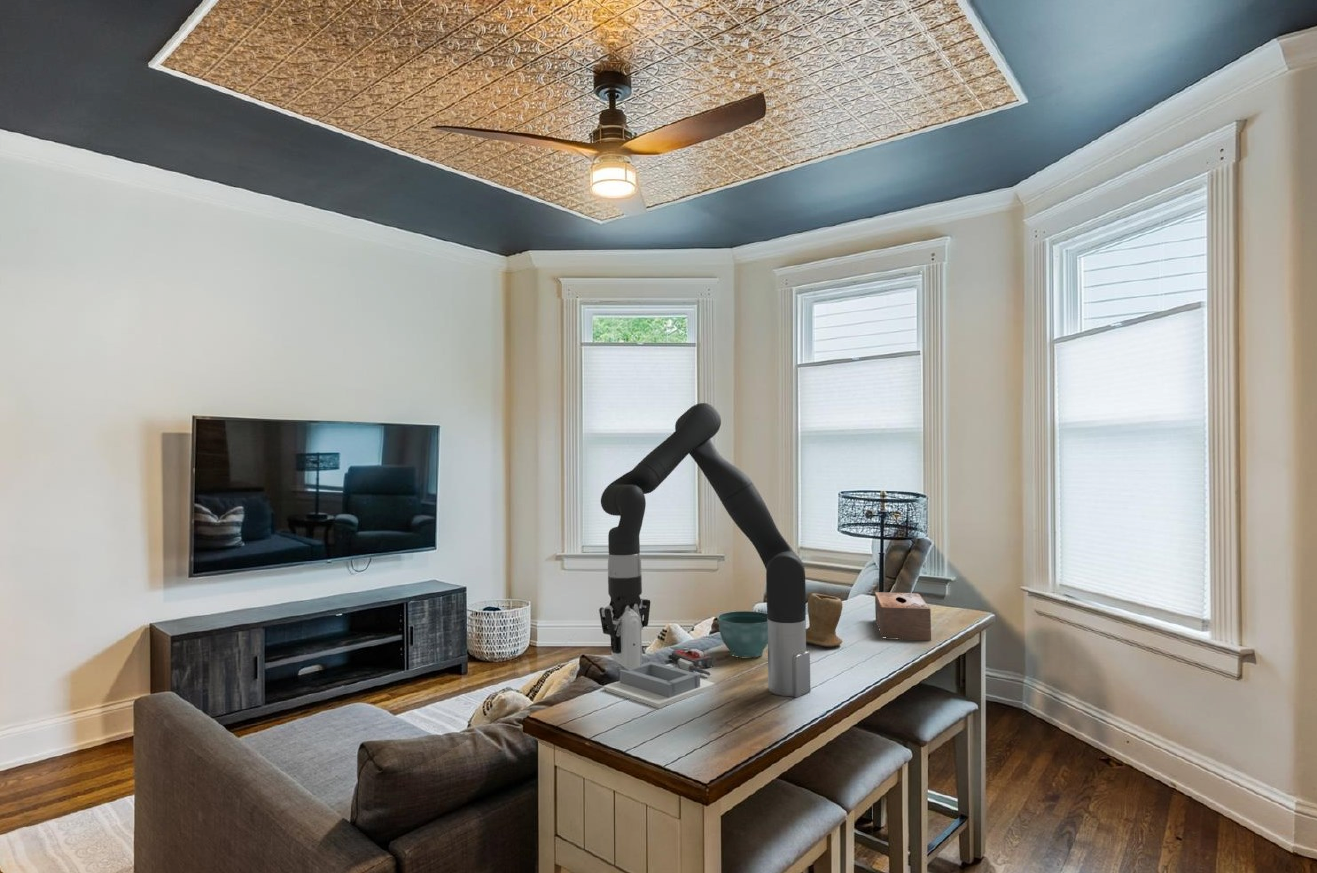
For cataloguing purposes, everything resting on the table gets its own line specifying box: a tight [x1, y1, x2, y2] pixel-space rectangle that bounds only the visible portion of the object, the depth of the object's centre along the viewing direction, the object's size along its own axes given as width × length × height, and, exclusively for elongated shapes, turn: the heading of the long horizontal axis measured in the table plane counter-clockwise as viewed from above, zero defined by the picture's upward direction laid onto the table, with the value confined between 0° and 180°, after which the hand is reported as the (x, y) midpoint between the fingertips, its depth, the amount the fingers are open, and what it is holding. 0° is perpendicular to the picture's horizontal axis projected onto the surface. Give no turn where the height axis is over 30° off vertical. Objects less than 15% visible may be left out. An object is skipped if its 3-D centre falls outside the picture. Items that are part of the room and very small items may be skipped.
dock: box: [602, 660, 716, 709], centre depth 172 cm, size 19×20×4 cm
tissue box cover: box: [874, 591, 932, 641], centre depth 229 cm, size 26×14×10 cm, turn 167°
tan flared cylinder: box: [806, 592, 843, 647], centre depth 213 cm, size 15×12×15 cm
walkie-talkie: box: [667, 647, 714, 676], centre depth 190 cm, size 9×4×20 cm
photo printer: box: [611, 608, 643, 669], centre depth 155 cm, size 10×4×12 cm, turn 25°
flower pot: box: [716, 610, 768, 659], centre depth 202 cm, size 16×16×11 cm
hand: (626, 649), depth 155 cm, fingers closed on photo printer, 5 cm apart
